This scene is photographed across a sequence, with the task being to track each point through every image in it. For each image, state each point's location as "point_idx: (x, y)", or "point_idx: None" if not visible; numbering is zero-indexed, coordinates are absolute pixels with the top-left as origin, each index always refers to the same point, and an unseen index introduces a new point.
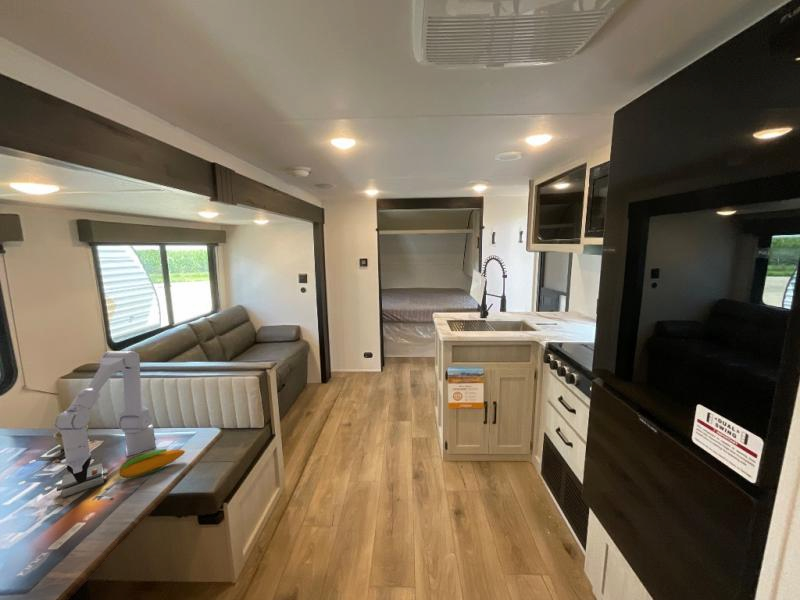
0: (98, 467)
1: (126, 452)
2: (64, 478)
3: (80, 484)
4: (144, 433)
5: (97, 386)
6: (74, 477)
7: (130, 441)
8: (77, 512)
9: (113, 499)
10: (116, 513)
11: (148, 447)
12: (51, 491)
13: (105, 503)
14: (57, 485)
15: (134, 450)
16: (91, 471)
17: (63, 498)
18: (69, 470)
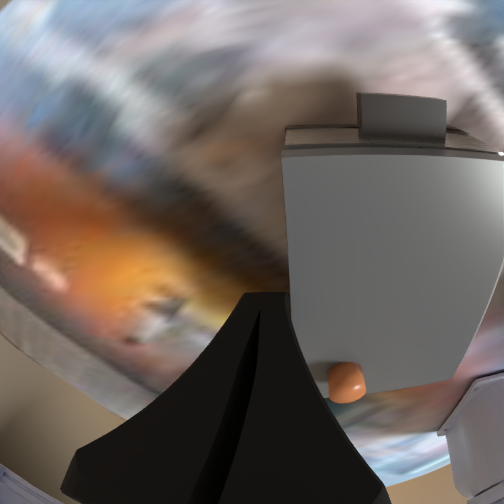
0: (406, 377)
1: (502, 377)
2: (464, 174)
3: None
4: (469, 484)
5: None
6: (399, 258)
7: (494, 444)
8: (80, 230)
9: (123, 343)
10: (48, 335)
11: (453, 424)
12: (460, 56)
13: (106, 321)
14: (438, 101)
15: (473, 408)
16: (385, 354)
17: (285, 129)
18: (71, 464)
